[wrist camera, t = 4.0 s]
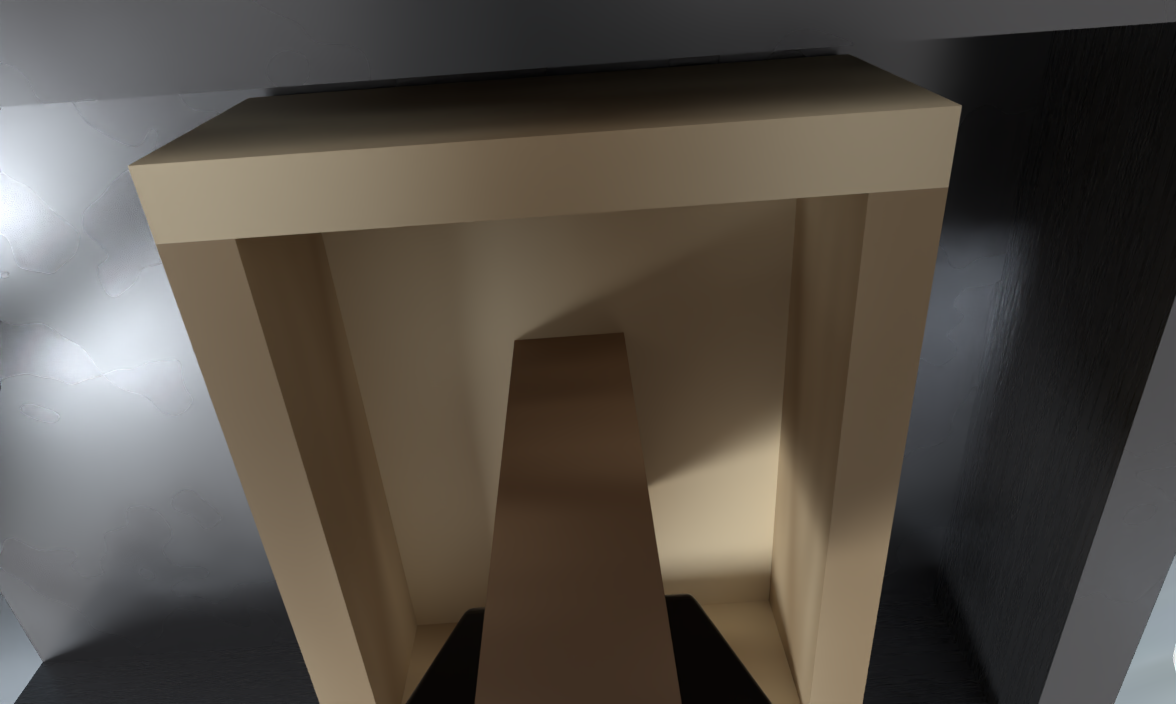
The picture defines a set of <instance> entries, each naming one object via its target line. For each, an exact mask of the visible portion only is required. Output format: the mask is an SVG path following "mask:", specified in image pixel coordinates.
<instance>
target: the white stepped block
mask: <svg viewBox="0 0 1176 704" xmlns="http://www.w3.org/2000/svg"><path fill="white" fill-rule="evenodd" d="M1173 661H1174V665H1175V670H1176V645H1175V650H1174V654H1173Z"/></svg>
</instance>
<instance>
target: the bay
mask: <svg viewBox="0 0 1176 704" xmlns="http://www.w3.org/2000/svg"><path fill="white" fill-rule="evenodd" d="M844 54H850V55H852V56H854V57H857V58H859V59H861V60H863V61H865V62H868V63H870V64H872V65H874V66H876V67H879V68H881V69H883V70H885V71H887V72H890V73H892V74H894V75H896V76H898V77H901V78H903V79H905V80H907V81H909V82H912V83H914V84H916V85H918V86H920V87H922V88H925V89H927V90H929V91H931V92H933V93H936V94H938V95H940V96H942V97H944V98H947V99H949V100H951V101H953V102H955V103H958V104H960V105H962V108H961V114H960V120H959V126H958V132H957V139H956V145H955V151H954V157H953V163H952V169H951V175H950V181H949V187H948V193H947V199H946V205H945V211H944V217H943V223H942V229H941V235H940V241H939V247H938V253H937V259H936V265H935V271H934V277H933V283H932V289H931V295H930V301H929V307H928V313H927V319H926V325H925V331H924V337H923V343H922V349H921V355H920V361H919V367H918V373H917V379H916V385H915V391H914V397H913V403H912V409H911V415H910V421H909V427H908V433H907V439H906V445H905V451H904V457H903V463H902V469H901V475H900V481H899V487H898V493H897V499H896V505H895V511H894V517H893V523H892V529H891V535H890V541H889V547H888V553H887V559H886V565H885V571H884V577H883V583H882V589H881V595H880V601H879V607H878V613H877V619H876V625H875V631H874V637H873V643H872V649H871V655H870V661H869V667H868V673H867V679H866V685H865V691H864V697H863V703H862V704H1114V703H1115V700H1116V698H1117V695H1118V693H1119V690H1120V688H1121V686H1122V683H1123V681H1124V678H1125V676H1126V673H1127V671H1128V668H1129V666H1130V664H1131V661H1132V659H1133V656H1134V654H1135V651H1136V649H1137V646H1138V644H1139V642H1140V639H1141V637H1142V634H1143V632H1144V629H1145V627H1146V625H1147V622H1148V620H1149V617H1150V615H1151V612H1152V610H1153V607H1154V605H1155V603H1156V600H1157V598H1158V595H1159V593H1160V590H1161V588H1162V585H1163V583H1164V581H1165V578H1166V576H1167V573H1168V571H1169V568H1170V566H1171V563H1172V561H1173V559H1174V556H1175V554H1176V0H0V591H1V593H2V595H3V596H4V598H5V600H6V601H7V603H8V605H9V606H10V608H11V610H12V611H13V613H14V615H15V616H16V618H17V620H18V621H19V623H20V625H21V626H22V628H23V630H24V631H25V633H26V635H27V636H28V638H29V640H30V641H31V643H32V645H33V646H34V648H35V650H36V651H37V653H38V655H39V656H40V658H41V660H42V661H43V663H42V664H41V666H40V667H39V669H38V670H37V671H36V673H35V674H34V676H33V677H32V679H31V680H30V681H29V683H28V684H27V686H26V687H25V689H24V690H23V691H22V693H21V694H20V696H19V697H18V699H17V700H16V702H15V703H14V704H320V703H319V700H318V697H317V694H316V692H315V689H314V686H313V683H312V680H311V678H310V675H309V672H308V669H307V666H306V664H305V661H304V658H303V655H302V653H301V650H300V647H299V644H298V641H297V639H296V636H295V633H294V630H293V627H292V625H291V622H290V619H289V616H288V613H287V611H286V608H285V605H284V602H283V599H282V597H281V594H280V591H279V588H278V585H277V583H276V580H275V577H274V574H273V571H272V569H271V566H270V563H269V560H268V557H267V555H266V552H265V549H264V546H263V543H262V541H261V538H260V535H259V532H258V529H257V527H256V524H255V521H254V518H253V515H252V513H251V510H250V507H249V504H248V501H247V499H246V496H245V493H244V490H243V487H242V485H241V482H240V479H239V476H238V473H237V471H236V468H235V465H234V462H233V459H232V457H231V454H230V451H229V448H228V445H227V443H226V440H225V437H224V434H223V431H222V429H221V426H220V423H219V420H218V417H217V415H216V412H215V409H214V406H213V403H212V401H211V398H210V395H209V392H208V389H207V387H206V384H205V381H204V378H203V375H202V373H201V370H200V367H199V364H198V361H197V359H196V356H195V353H194V350H193V347H192V345H191V342H190V339H189V336H188V333H187V331H186V328H185V325H184V322H183V320H182V317H181V314H180V311H179V308H178V306H177V303H176V300H175V297H174V294H173V292H172V289H171V286H170V283H169V280H168V278H167V275H166V272H165V269H164V266H163V264H162V261H161V258H160V255H159V252H158V250H157V247H156V244H155V241H154V238H153V236H152V233H151V230H150V227H149V224H148V222H147V219H146V216H145V213H144V210H143V208H142V205H141V202H140V199H139V196H138V194H137V191H136V188H135V185H134V182H133V180H132V177H131V174H130V171H129V168H128V165H130V164H132V163H134V162H136V161H137V160H139V159H141V158H143V157H144V156H146V155H148V154H150V153H152V152H153V151H155V150H157V149H159V148H160V147H162V146H164V145H166V144H168V143H169V142H171V141H173V140H175V139H176V138H178V137H180V136H182V135H184V134H185V133H187V132H189V131H191V130H192V129H194V128H196V127H198V126H200V125H201V124H203V123H205V122H207V121H208V120H210V119H212V118H214V117H216V116H217V115H219V114H221V113H223V112H224V111H226V110H228V109H230V108H232V107H233V106H235V105H237V104H239V103H240V102H242V101H244V100H246V99H248V98H253V97H267V96H280V95H294V94H308V93H321V92H335V91H349V90H363V89H376V88H390V87H404V86H418V85H431V84H445V83H459V82H473V81H486V80H500V79H514V78H528V77H541V76H555V75H569V74H583V73H596V72H610V71H624V70H638V69H651V68H665V67H679V66H692V65H706V64H720V63H734V62H747V61H761V60H775V59H789V58H802V57H816V56H830V55H844Z"/></svg>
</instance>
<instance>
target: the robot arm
mask: <svg viewBox="0 0 1176 704" xmlns="http://www.w3.org/2000/svg"><path fill="white" fill-rule="evenodd" d="M665 600H666V607H667V613H668V620H669V626H670V632H671V639H672V645H673V652H674V658H675V665H676V671H677V677H678V684H679V690H680V697H681V703H682V704H772V703H771V701H770V700H769V698H768V697H767V696H766V694H765V693H764V692H763V690H762V689H761V688H760V686H759V685H758V683H757V682H756V681H755V679H754V678H753V677H752V675H751V674H750V672H749V671H748V670H747V668H746V667H745V666H744V664H743V663H742V662H741V660H740V659H739V657H738V656H737V655H736V653H735V652H734V651H733V649H732V648H731V647H730V645H729V644H728V642H727V641H726V640H725V638H724V637H723V636H722V634H721V633H720V631H719V630H718V629H717V627H716V626H715V625H714V623H713V622H712V621H711V619H710V618H709V616H708V615H707V614H706V612H705V611H704V610H703V608H702V607H701V605H700V604H699V603H698V601H697V600H696V599H695V598H694V597H693V596H692V595H690V594H686V593H685V594H670V595H665ZM484 614H485V607H478V608H470V609H469V610H467V611H466V612H465V613H464V614H463V616H462V617H461V619H460V620H459V622H458V623H457V625H456V626H455V628H454V629H453V631H452V633H451V634H450V636H449V637H448V639H447V640H446V642H445V643H444V645H443V646H442V648H441V650H440V651H439V653H438V654H437V656H436V657H435V659H434V660H433V662H432V663H431V665H430V667H429V668H428V670H427V671H426V673H425V674H424V676H423V677H422V679H421V681H420V682H419V684H418V685H417V687H416V688H415V690H414V691H413V693H412V694H411V696H410V698H409V699H408V701H407V702H406V704H475V696H476V687H477V678H478V669H479V659H480V650H481V641H482V632H483V623H484Z"/></svg>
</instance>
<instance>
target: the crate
mask: <svg viewBox="0 0 1176 704" xmlns="http://www.w3.org/2000/svg"><path fill="white" fill-rule="evenodd" d="M961 108H962V105H960V104H958V103H955V102H953V101H951V100H949V99H947V98H944V97H942V96H940V95H938V94H936V93H933V92H931V91H929V90H927V89H925V88H922V87H920V86H918V85H916V84H914V83H912V82H909V81H907V80H905V79H903V78H901V77H898V76H896V75H894V74H892V73H890V72H887V71H885V70H883V69H881V68H879V67H876V66H874V65H872V64H870V63H868V62H865V61H863V60H861V59H859V58H857V57H854V56H852V55H850V54H844V55H830V56H816V57H802V58H789V59H775V60H761V61H747V62H734V63H720V64H706V65H692V66H679V67H665V68H651V69H638V70H624V71H610V72H596V73H583V74H569V75H555V76H541V77H528V78H514V79H500V80H486V81H473V82H459V83H445V84H431V85H418V86H404V87H390V88H376V89H363V90H349V91H335V92H321V93H308V94H294V95H280V96H267V97H253V98H248V99H246V100H244V101H242V102H240V103H239V104H237V105H235V106H233V107H232V108H230V109H228V110H226V111H224V112H223V113H221V114H219V115H217V116H216V117H214V118H212V119H210V120H208V121H207V122H205V123H203V124H201V125H200V126H198V127H196V128H194V129H192V130H191V131H189V132H187V133H185V134H184V135H182V136H180V137H178V138H176V139H175V140H173V141H171V142H169V143H168V144H166V145H164V146H162V147H160V148H159V149H157V150H155V151H153V152H152V153H150V154H148V155H146V156H144V157H143V158H141V159H139V160H137V161H136V162H134V163H132V164H130V165H128V168H129V171H130V174H131V177H132V180H133V182H134V185H135V188H136V191H137V194H138V196H139V199H140V202H141V205H142V208H143V210H144V213H145V216H146V219H147V222H148V224H149V227H150V230H151V233H152V236H153V238H154V241H155V244H156V247H157V250H158V252H159V255H160V258H161V261H162V264H163V266H164V269H165V272H166V275H167V278H168V280H169V283H170V286H171V289H172V292H173V294H174V297H175V300H176V303H177V306H178V308H179V311H180V314H181V317H182V320H183V322H184V325H185V328H186V331H187V333H188V336H189V339H190V342H191V345H192V347H193V350H194V353H195V356H196V359H197V361H198V364H199V367H200V370H201V373H202V375H203V378H204V381H205V384H206V387H207V389H208V392H209V395H210V398H211V401H212V403H213V406H214V409H215V412H216V415H217V417H218V420H219V423H220V426H221V429H222V431H223V434H224V437H225V440H226V443H227V445H228V448H229V451H230V454H231V457H232V459H233V462H234V465H235V468H236V471H237V473H238V476H239V479H240V482H241V485H242V487H243V490H244V493H245V496H246V499H247V501H248V504H249V507H250V510H251V513H252V515H253V518H254V521H255V524H256V527H257V529H258V532H259V535H260V538H261V541H262V543H263V546H264V549H265V552H266V555H267V557H268V560H269V563H270V566H271V569H272V571H273V574H274V577H275V580H276V583H277V585H278V588H279V591H280V594H281V597H282V599H283V602H284V605H285V608H286V611H287V613H288V616H289V619H290V622H291V625H292V627H293V630H294V633H295V636H296V639H297V641H298V644H299V647H300V650H301V653H302V655H303V658H304V661H305V664H306V666H307V669H308V672H309V675H310V678H311V680H312V683H313V686H314V689H315V692H316V694H317V697H318V700H319V703H320V704H406V702H407V701H408V699H409V698H410V696H411V694H412V693H413V691H414V690H415V688H416V687H417V685H418V684H419V682H420V681H421V679H422V677H423V676H424V674H425V673H426V671H427V670H428V668H429V667H430V665H431V663H432V662H433V660H434V659H435V657H436V656H437V654H438V653H439V651H440V650H441V648H442V646H443V645H444V643H445V642H446V640H447V639H448V637H449V636H450V634H451V633H452V631H453V629H454V628H455V626H456V625H457V623H458V622H459V620H460V619H461V617H462V616H463V614H464V613H465V612H466V611H467V610H469V609H470V608H478V607H485V614H484V623H483V632H482V641H481V650H480V659H479V669H478V678H477V687H476V696H475V704H682V703H681V697H680V690H679V684H678V677H677V671H676V665H675V658H674V652H673V645H672V639H671V632H670V626H669V620H668V613H667V607H666V600H665V595H670V594H685V593H686V594H690V595H692V596H693V597H694V598H695V599H696V600H697V601H698V603H699V604H700V605H701V607H702V608H703V610H704V611H705V612H706V614H707V615H708V616H709V618H710V619H711V621H712V622H713V623H714V625H715V626H716V627H717V629H718V630H719V631H720V633H721V634H722V636H723V637H724V638H725V640H726V641H727V642H728V644H729V645H730V647H731V648H732V649H733V651H734V652H735V653H736V655H737V656H738V657H739V659H740V660H741V662H742V663H743V664H744V666H745V667H746V668H747V670H748V671H749V672H750V674H751V675H752V677H753V678H754V679H755V681H756V682H757V683H758V685H759V686H760V688H761V689H762V690H763V692H764V693H765V694H766V696H767V697H768V698H769V700H770V701H771V703H772V704H862V703H863V697H864V691H865V685H866V679H867V673H868V667H869V661H870V655H871V649H872V643H873V637H874V631H875V625H876V619H877V613H878V607H879V601H880V595H881V589H882V583H883V577H884V571H885V565H886V559H887V553H888V547H889V541H890V535H891V529H892V523H893V517H894V511H895V505H896V499H897V493H898V487H899V481H900V475H901V469H902V463H903V457H904V451H905V445H906V439H907V433H908V427H909V421H910V415H911V409H912V403H913V397H914V391H915V385H916V379H917V373H918V367H919V361H920V355H921V349H922V343H923V337H924V331H925V325H926V319H927V313H928V307H929V301H930V295H931V289H932V283H933V277H934V271H935V265H936V259H937V253H938V247H939V241H940V235H941V229H942V223H943V217H944V211H945V205H946V199H947V193H948V187H949V181H950V175H951V169H952V163H953V157H954V151H955V145H956V139H957V132H958V126H959V120H960V114H961Z"/></svg>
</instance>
